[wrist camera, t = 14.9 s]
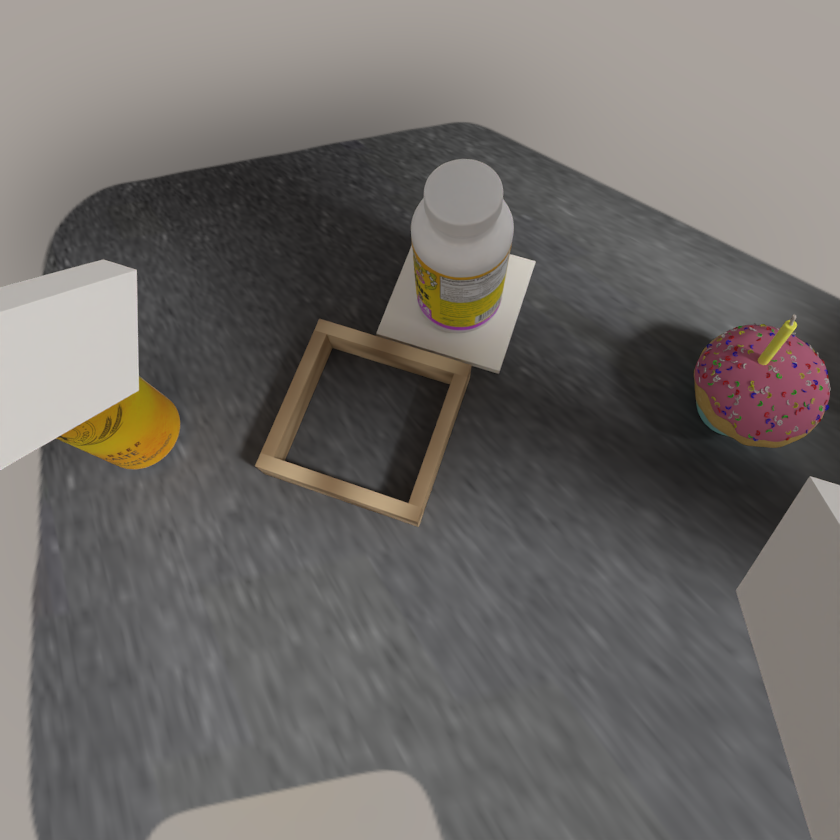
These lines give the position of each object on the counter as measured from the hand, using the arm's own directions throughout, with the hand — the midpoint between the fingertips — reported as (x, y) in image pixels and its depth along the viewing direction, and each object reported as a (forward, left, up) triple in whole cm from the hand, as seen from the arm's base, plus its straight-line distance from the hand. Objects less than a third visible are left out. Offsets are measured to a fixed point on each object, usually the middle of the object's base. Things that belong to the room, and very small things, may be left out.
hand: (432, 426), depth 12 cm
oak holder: (+8, -8, -32) cm, 34 cm away
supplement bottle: (+5, -20, -31) cm, 37 cm away
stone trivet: (+5, -20, -32) cm, 38 cm away
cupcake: (-17, -18, -32) cm, 40 cm away
